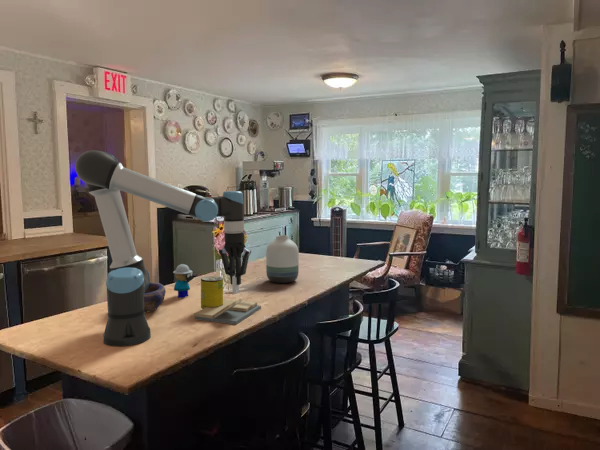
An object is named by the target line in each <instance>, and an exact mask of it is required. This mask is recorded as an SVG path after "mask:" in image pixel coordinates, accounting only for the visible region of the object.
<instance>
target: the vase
mask: <svg viewBox="0 0 600 450" xmlns="http://www.w3.org/2000/svg"><path fill="white" fill-rule="evenodd" d="M265 250H266V252H265V253H266V254H265V265H266V266H265V270H266V271H265V273H266V277H267V279H268V281H270V282H272V283H277V284H287V283H293V282H295V281H296V280H297V278H298V276H299V271H300V270H299V267H300V266H299V265H300V263H299V262H300V261H299V260H300V257H299V255H300V254H299V253H300V252H299V247H298V245H297V244H296V242H295V241H293V240H292V239H290V236H289V235H287V234H284V235H283V234H281V235H279V234H278V235H276V236H275V239H273V240H272V241H271V242H270V243H269V244H268V245H267V247H266V249H265Z"/></svg>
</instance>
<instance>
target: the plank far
mask: <svg viewBox="0 0 600 450" xmlns="http://www.w3.org/2000/svg"><path fill="white" fill-rule="evenodd" d="M256 305H258V302H257V301H246V300H242V301H241V302H240V303H238V304H237V305H235V306H234V307H232V308H231V309H229V310H236V311H248V310H250V309H251V308H253V307H255V306H256Z"/></svg>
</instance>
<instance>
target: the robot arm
mask: <svg viewBox="0 0 600 450" xmlns="http://www.w3.org/2000/svg"><path fill="white" fill-rule="evenodd" d="M74 167H75V172H76V175H77V177H78V178H79V179H80V180H81V181H82V182H83V183H85V185H86V188H87V192H88V193H89V194H90V195H91V196H93V197H94V199H95V203H96V207H97V209H98V210H97V211H98V212H99V213H98V214H99V218H100V221H101V224H102V225H101V226H102V228H103V232H104V234H105V239H106V242H107V246H108V249H109V252H110V257H111V260H112V262H111V264H110V265H109V270H110V271H109V272H108V273H107V276H106V280H105V281H106V282H105V286H106V302H107V320H106V324H105V329H104V332H103V334H102V336H103V337H102V338H103V339H102V340H103V343H104V344H105V345H108V346H112V347H129V346H133V345H138V344H141V343H144V342H146V341H148V340H149V339H150V338H151V335H152V334H151V328H150V326H149V323H148V321H147V320H148V319H147V318H146V314H145V313H146V312H144V293H145V291H146V290H147V288H148V286H149V283H151V282H150V281H151V280H150V278H151V277H150V276H151V275H150V273H149V270H147V268H146V265H145V262H144V259H143V257H141V256H140V255H138V253H137V249H136V247H135V241H134V239H133V238H134V237H133V235H132V232H131V231H132V230H131V228H130V224H129V220H128V217H127V212H126V209H125V205H124V202H123V197H122V195H121V192H124V193H127V194H130V195H132V196H135V197H138V198H140V199H143V200H147V201H149V202H151V203H152V202H153V203H155V204H157V205H161V206H163V207H167V208H169V209H172V210H175V211H178V212H179V213H180V212H181V213H183V214H186V215H189V216H191V217H192V218H196V219H198V220H200V221H202V222H204V223H205V222H210V221H213V220H215V218H216V217H219V218H221V217H223V231H224V235H223V236H224V238H223V239H224V245H223V248H222V249H219V250H218V253H219V254H220V257H221V260H222V264H223V268H224V274H225V275H227V276H229V281H230V282H229V283H230V285H232V294H233V295H237V294H238V293H240V285H241V284H242V276H244V275H246V273H247V267H248V262H249V258H250V255H251V253H252V250H251V249H247V248H246V245H245V232H244V231H245V209H244V208H245V206H244V193H243V192H242V191H241V190H225V191H223V192H222V196H202V195H199V194H196V193H194V192H192V191H189V190H186V189H183V188H181V187H178V186H175V185H173V184H170V183H168V182H165V181H162V180H159V179H156V178H153V177H151V176H148V175H145V174H144V173H143V174H142V173H140V172H138V171H134V170H132V169H130V168H127V167H125V166H123V164H122V162H119V161H118V159H117V158H116V157H115V156H114V155H113V154H111V153H110V152H108V151H107V152H106V151H101V150H97V149H96V150H94V149H93V150H87V151H85V152H82V153H81V154H80V155H79V156H78V157H77V159H76V161H75V165H74ZM242 254H243V255H242Z"/></svg>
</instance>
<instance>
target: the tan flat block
mask: <svg viewBox="0 0 600 450" xmlns="http://www.w3.org/2000/svg"><path fill="white" fill-rule="evenodd" d="M241 301H243V299H242V298H239V299H237V301H235V302H233V303H231V304H230V305H228V306H226V307H225V308H223V309H222V310H220V311H219V312H217V313H216V314H214V317H217V316H219V315H220V314H222V313H224V312H226V311H228V310H229V309H231V308H232V307H234V306H235V305H237V304H238V303H240V302H241Z"/></svg>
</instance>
